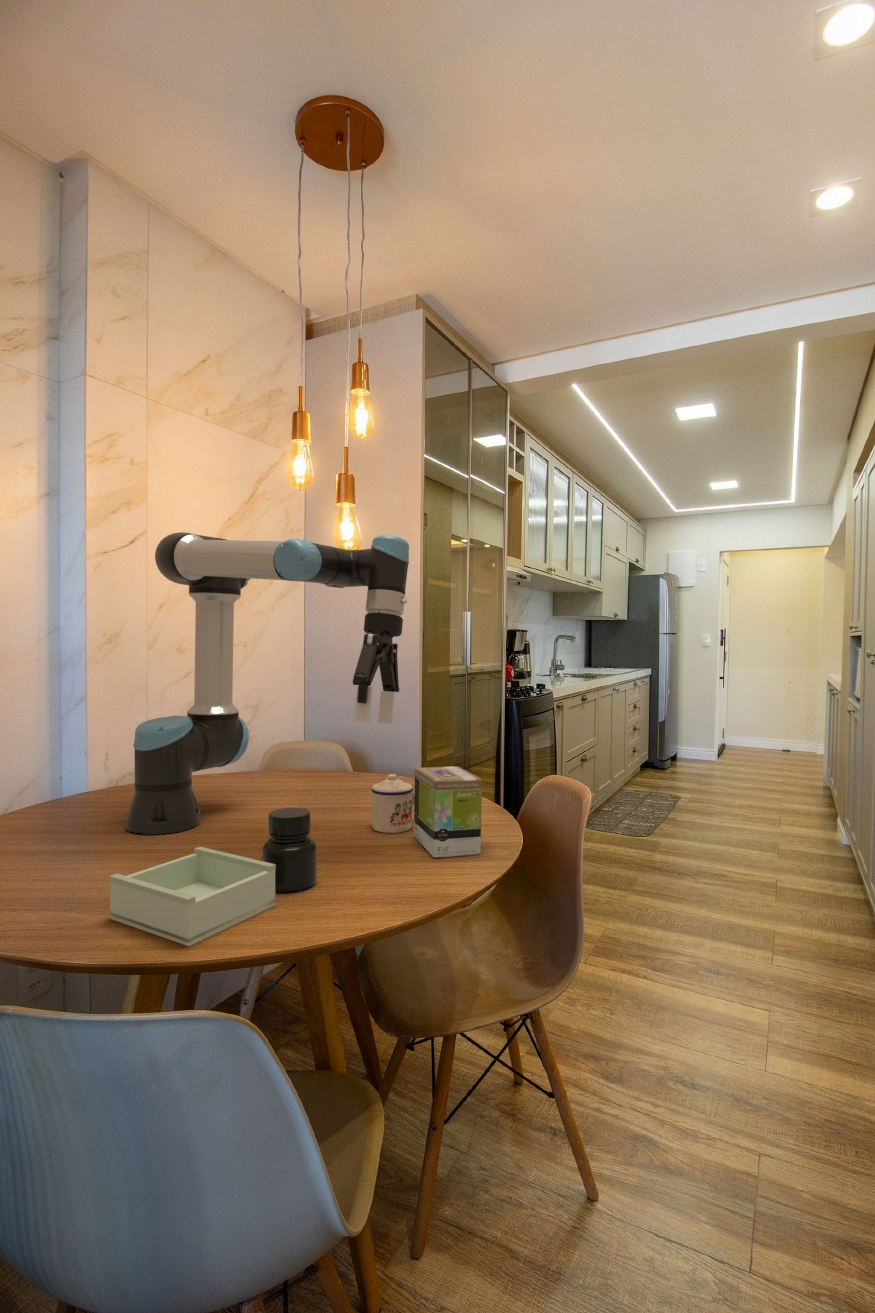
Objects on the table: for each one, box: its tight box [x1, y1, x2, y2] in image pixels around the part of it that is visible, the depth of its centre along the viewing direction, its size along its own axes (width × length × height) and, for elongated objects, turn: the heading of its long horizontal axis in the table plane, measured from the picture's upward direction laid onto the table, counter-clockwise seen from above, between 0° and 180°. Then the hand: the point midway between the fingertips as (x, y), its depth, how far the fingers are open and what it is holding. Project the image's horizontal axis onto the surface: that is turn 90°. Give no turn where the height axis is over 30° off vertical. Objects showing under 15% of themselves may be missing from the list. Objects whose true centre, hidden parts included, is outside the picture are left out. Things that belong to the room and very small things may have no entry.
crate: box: [108, 846, 276, 947], centre depth 99 cm, size 17×16×6 cm
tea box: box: [413, 765, 483, 858], centre depth 132 cm, size 15×10×15 cm, turn 17°
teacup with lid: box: [371, 773, 415, 834], centre depth 145 cm, size 12×9×12 cm
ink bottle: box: [261, 807, 318, 893], centre depth 110 cm, size 10×9×12 cm
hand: (373, 722), depth 128 cm, fingers open, 13 cm apart
